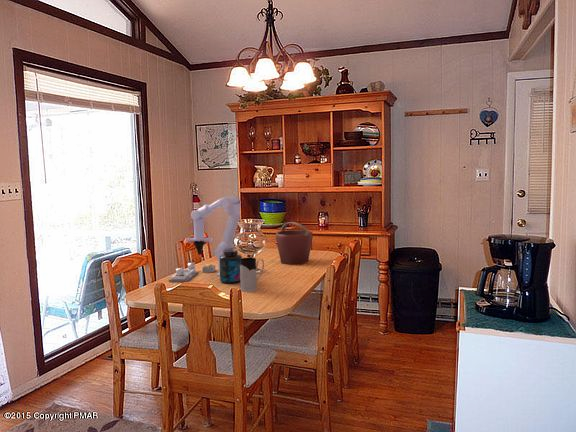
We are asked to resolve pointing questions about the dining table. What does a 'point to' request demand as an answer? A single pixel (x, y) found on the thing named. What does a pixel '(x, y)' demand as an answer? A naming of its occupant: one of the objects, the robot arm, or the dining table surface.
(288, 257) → the bucket
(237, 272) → the container
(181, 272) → the seated billet
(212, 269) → the console
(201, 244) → the robot arm
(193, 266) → the billet
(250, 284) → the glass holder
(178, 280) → the pallet board
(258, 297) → the dining table surface
